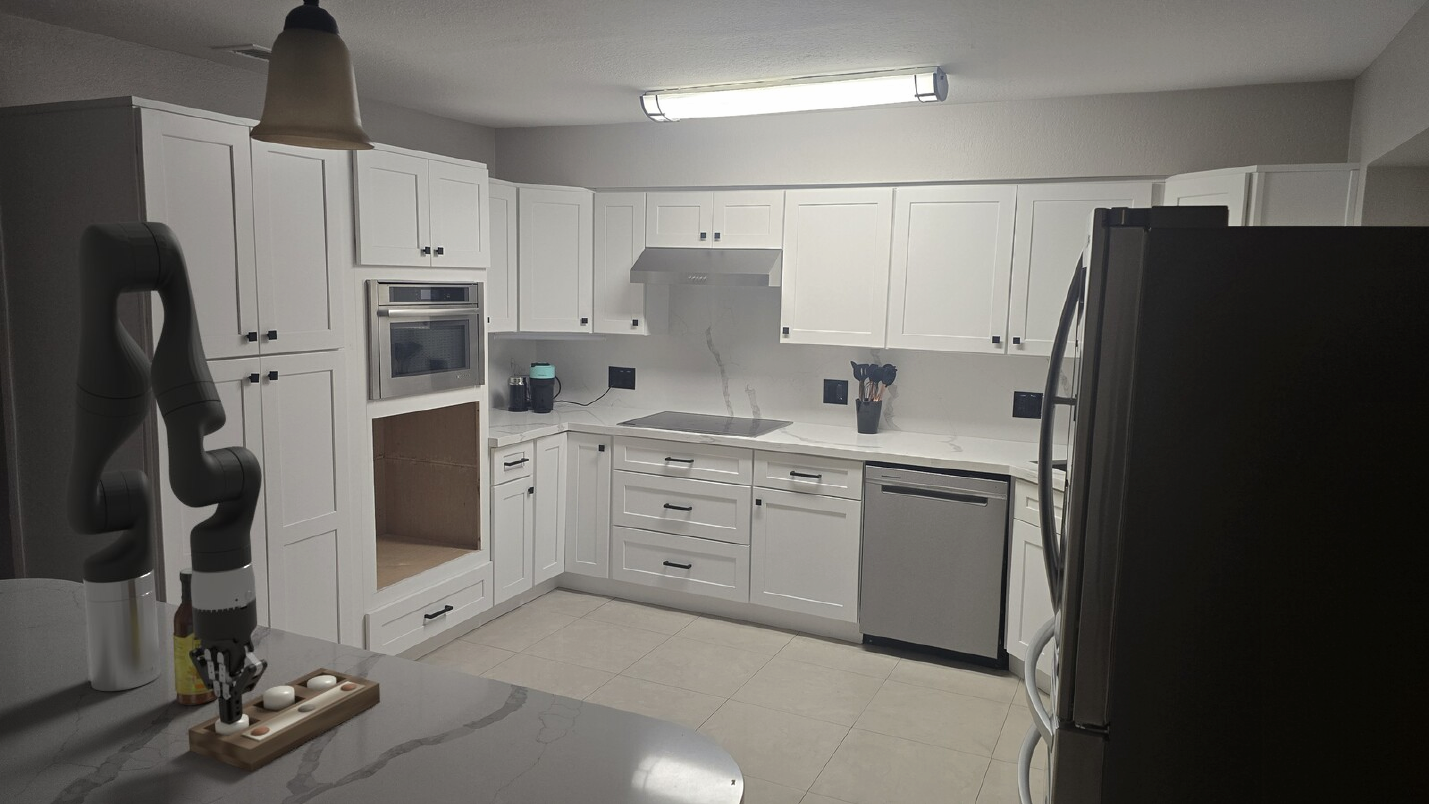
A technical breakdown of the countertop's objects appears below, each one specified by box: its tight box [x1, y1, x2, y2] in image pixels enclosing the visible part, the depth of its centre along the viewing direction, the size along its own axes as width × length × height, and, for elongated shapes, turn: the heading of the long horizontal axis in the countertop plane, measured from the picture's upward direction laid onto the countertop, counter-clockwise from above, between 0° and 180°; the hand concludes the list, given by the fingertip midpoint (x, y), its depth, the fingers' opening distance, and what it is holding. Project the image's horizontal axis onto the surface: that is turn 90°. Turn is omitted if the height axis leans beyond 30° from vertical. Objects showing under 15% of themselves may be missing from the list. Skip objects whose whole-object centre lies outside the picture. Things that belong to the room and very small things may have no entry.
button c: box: [215, 714, 249, 736], centre depth 124 cm, size 4×4×2 cm
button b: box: [262, 685, 295, 712], centre depth 131 cm, size 4×4×2 cm
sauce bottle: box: [172, 566, 218, 706], centre depth 137 cm, size 7×6×20 cm
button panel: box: [187, 667, 381, 772], centre depth 130 cm, size 12×22×3 cm, turn 155°
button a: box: [307, 675, 336, 691], centre depth 138 cm, size 4×4×2 cm
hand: (231, 721), depth 124 cm, fingers closed
